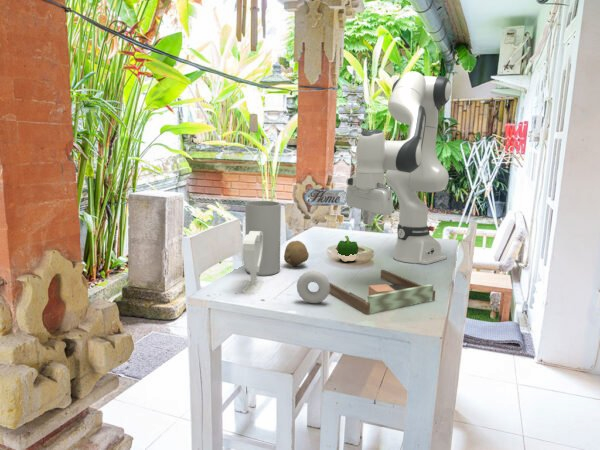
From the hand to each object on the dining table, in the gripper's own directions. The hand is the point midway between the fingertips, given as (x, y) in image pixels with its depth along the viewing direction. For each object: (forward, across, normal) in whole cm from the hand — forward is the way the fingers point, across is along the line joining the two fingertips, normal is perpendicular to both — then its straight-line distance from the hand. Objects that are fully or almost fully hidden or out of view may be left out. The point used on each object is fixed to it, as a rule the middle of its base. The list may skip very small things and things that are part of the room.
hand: (367, 224), depth 150 cm
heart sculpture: (+21, +16, +34) cm, 43 cm away
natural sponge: (+21, +30, +10) cm, 38 cm away
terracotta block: (+21, -12, +3) cm, 25 cm away
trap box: (+21, -8, +2) cm, 23 cm away
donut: (+21, -6, +24) cm, 32 cm away
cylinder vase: (+21, +30, +24) cm, 44 cm away
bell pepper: (+22, +28, -12) cm, 38 cm away
